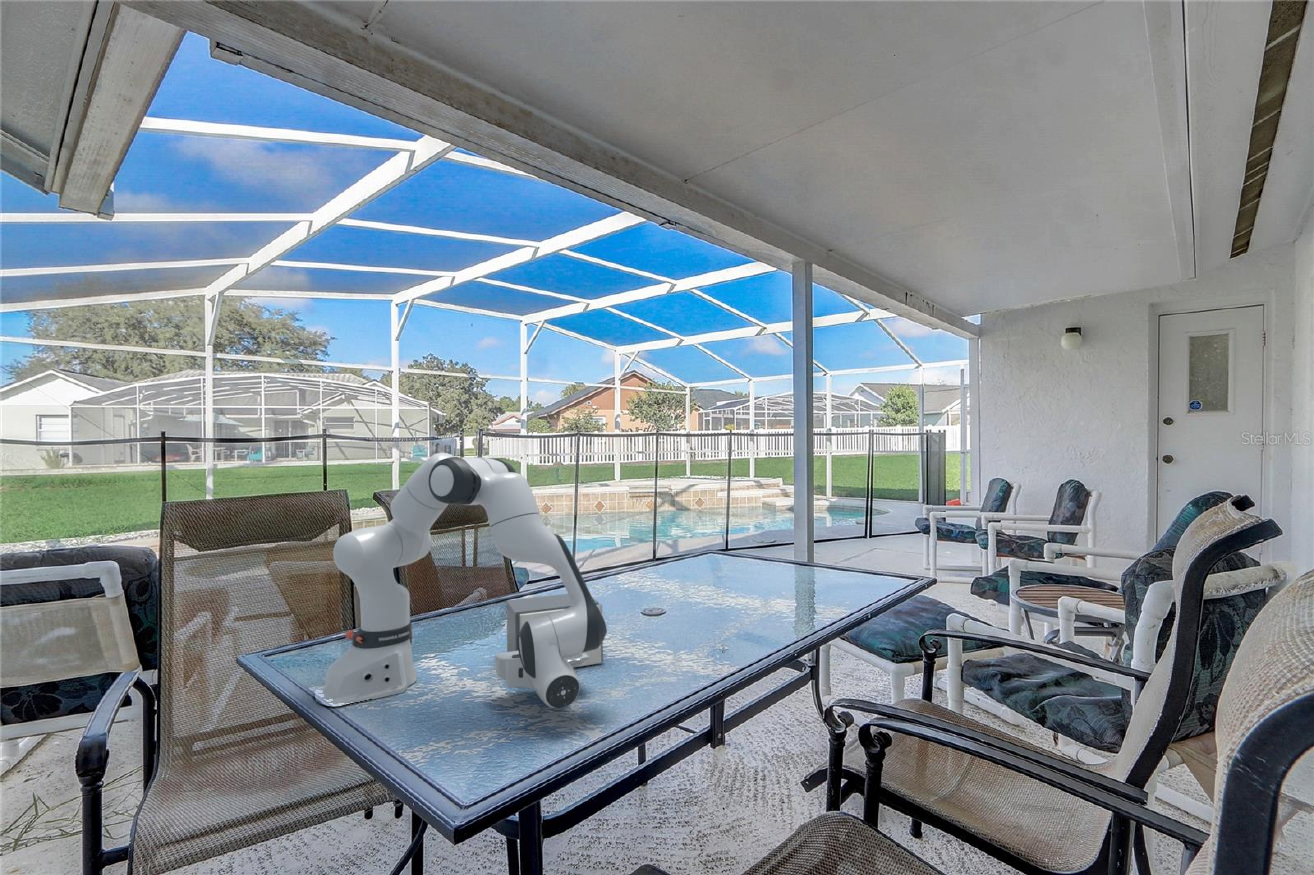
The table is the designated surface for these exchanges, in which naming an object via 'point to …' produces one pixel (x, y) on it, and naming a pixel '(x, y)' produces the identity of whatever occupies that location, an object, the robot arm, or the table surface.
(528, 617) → the door
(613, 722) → the table surface
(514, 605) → the box
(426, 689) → the table surface
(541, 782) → the table surface
